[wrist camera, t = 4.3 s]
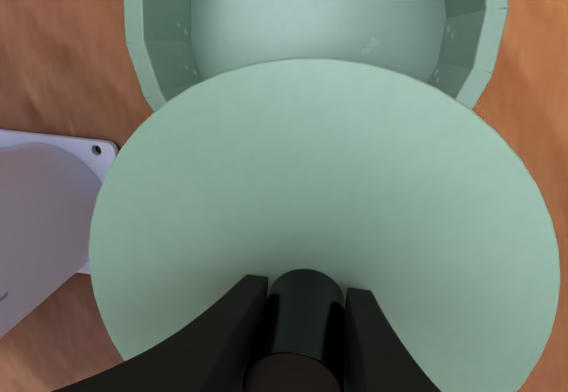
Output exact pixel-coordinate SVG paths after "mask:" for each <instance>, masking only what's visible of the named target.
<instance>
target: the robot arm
mask: <svg viewBox="0 0 568 392" xmlns="http://www.w3.org/2000/svg"><path fill="white" fill-rule="evenodd" d="M96 146H99V147H100V149H101V154H100V153H98V152H97V151H96ZM117 155H118V148H117V146H116V144H115V143H113V142H112V141H109V140H100V139H90V138H81V137H72V136H62V135H53V134H44V133H34V132H25V131H15V130H6V129H0V338H2V337H3V336H4V335H5V334H6V333H7V332H8V331H10V330H11V329H12V328H13V327H14V326H15V325H16V324H18V323H19V322H20V321H21V320H22V319H23V318H24V317H26V316H27V315H28V314H29V313H30V312H31V311H32V310H34V309H35V308H36V307H37V306H38V305H39V304H40V303H42V302H43V301H44V300H45V299H46V298H47V297H49V296H50V295H51V294H52V293H53V292H54V291H55V290H57V289H58V288H59V287H60V286H61V285H62V284H63V283H65V282H66V281H67V280H68V279H69V278H70V277H71V276H73V275H74V274H75V273H76V272H77V273H85V274H90V265H89V238H90V227H91V220H92V216H93V212H94V207H95V203H96V199H97V196H98V193H99V191H100V188H101V186H102V183H103V181H104V179H105V176H106V174H107V171H108V169H109V168H110V166H111V164H112V163H113V161H114V159H115V158H116V156H117ZM267 293H268V277H265V276H257V275H249V274H247V275H245V276H244V277H243V278H242V279H241V280H240V281H239V282H237V283H236V284H235V285H234V286H233V287H232V288H231V289H230V290H229V291H228V292H227V293H225V294H224V295H223V296H222V297H221V298H220V299H219V300H218V301H216V302H215V303H214V304H213V305H212V306H210V307H209V308H208V309H207V310H206V311H204V312H203V313H202V314H201V315H199V316H198V317H197V318H195V319H194V320H193V321H191V322H190V323H189V324H187V325H186V326H185V327H183V328H182V329H181V330H179V331H178V332H176V333H175V334H173V335H172V336H170V337H169V338H167V339H165V340H164V341H162V342H160V343H159V344H157V345H155V346H154V347H152V348H150V349H148V350H147V351H145V352H143V353H141V354H139V355H137V356H135V357H133V358H131V359H129V360H127V361H125V362H123V363H121V364H119V365H117V366H115V367H113V368H110V369H108V370H106V371H104V372H101V373H99V374H97V375H94V376H92V377H89V378H87V379H84V380H82V381H79V382H77V383H74V384H71V385H69V386H66V387H63V388H61V389H58V390H54V391H51V392H243V388H242V381H243V376H244V373H245V369H246V366H247V363H248V360H249V356H250V353H251V350H252V347H253V343H254V340H255V337H256V334H257V330H258V327H259V324H260V321H261V318H262V314H263V311H264V308H265V305H266V301H267ZM344 392H441V391H440V390H439V388H438V387H437V386H436V385H435V384H434V383H433V382H432V381H431V380H430V379H429V377H428V376H427V375H426V374H425V372H424V371H423V370H422V369H421V368H420V366H419V365H418V364H417V362H416V361H415V360H414V358H413V357H412V356H411V354H410V353H409V352H408V350H407V349H406V347H405V346H404V345H403V343H402V342H401V340H400V339H399V337H398V336H397V334H396V333H395V331H394V330H393V328H392V327H391V325H390V323H389V322H388V320H387V318H386V317H385V315H384V313H383V311H382V310H381V308H380V306H379V304H378V302H377V300H376V298H375V296H374V294H373V293H372V292H371V291H370V290H365V289H357V288H349V287H348V288H347V296H346V303H345V310H344Z"/></svg>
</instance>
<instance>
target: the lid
mask: <svg viewBox="0 0 568 392" xmlns="http://www.w3.org/2000/svg"><path fill="white" fill-rule="evenodd" d="M89 265H90V275H91V281H92V286H93V291H94V297H95V300H96V303H97V306H98V309H99V312H100V315H101V318H102V321H103V323H104V325H105V327H106V329H107V331H108V333H109V335H110V338H111V340H112V342H113V343H114V345H115V347H116V348H117V350H118V351H119V353H120V355H121V356H122V358H123V360H124V361H127V360H129V359H131V358H133V357H135V356H137V355H139V354H141V353H143V352H145V351H147V350H148V349H150V348H152V347H154V346H155V345H157V344H159V343H160V342H162V341H164V340H165V339H167V338H169V337H170V336H172V335H173V334H175V333H176V332H178V331H179V330H181V329H182V328H183V327H185V326H186V325H187V324H189V323H190V322H191V321H193V320H194V319H195V318H197V317H198V316H199V315H201V314H202V313H203V312H204V311H206V310H207V309H208V308H209V307H210V306H212V305H213V304H214V303H215V302H216V301H218V300H219V299H220V298H221V297H222V296H223V295H224V294H225V293H227V292H228V291H229V290H230V289H231V288H232V287H233V286H234V285H235V284H236V283H237V282H239V281H240V280H241V279H242V278H243V277H244V276H245V275H247V274H249V275H257V276H265V277H268V293H267V301H266V305H265V308H264V311H263V314H262V318H261V321H260V324H259V327H258V330H257V334H256V337H255V340H254V343H253V347H252V350H251V353H250V356H249V360H248V363H247V366H246V369H245V373H244V376H243V381H242V388H243V392H344V310H345V303H346V296H347V288H348V287H349V288H357V289H365V290H370V291H371V292H372V293H373V294H374V296H375V298H376V300H377V302H378V304H379V306H380V308H381V310H382V311H383V313H384V315H385V317H386V318H387V320H388V322H389V323H390V325H391V327H392V328H393V330H394V331H395V333H396V334H397V336H398V337H399V339H400V340H401V342H402V343H403V345H404V346H405V347H406V349H407V350H408V352H409V353H410V354H411V356H412V357H413V358H414V360H415V361H416V362H417V364H418V365H419V366H420V368H421V369H422V370H423V371H424V372H425V374H426V375H427V376H428V377H429V379H430V380H431V381H432V382H433V383H434V384H435V385H436V386H437V387H438V388H439V390H440V391H441V392H516V391H517V390H518V389H519V388H520V387H521V386H522V384H523V383H524V382H525V381H526V379H527V378H528V376H529V374H530V373H531V371H532V370H533V368H534V367H535V365H536V363H537V362H538V360H539V359H540V356H541V354H542V352H543V350H544V347H545V345H546V343H547V340H548V338H549V336H550V334H551V330H552V326H553V322H554V318H555V315H556V311H557V307H558V298H559V287H560V265H559V250H558V244H557V240H556V236H555V231H554V227H553V223H552V219H551V216H550V213H549V211H548V209H547V206H546V204H545V201H544V199H543V197H542V194H541V192H540V190H539V187H538V186H537V184H536V182H535V181H534V179H533V178H532V176H531V174H530V173H529V171H528V170H527V168H526V166H525V165H524V163H523V162H522V160H521V158H520V157H519V156H518V155H517V154H516V153H515V152H514V150H513V149H512V148H511V147H510V146H509V145H508V143H507V142H506V141H505V140H504V139H503V138H502V137H501V135H500V134H499V133H498V132H497V131H496V130H495V129H493V128H492V127H491V126H490V125H489V124H488V123H486V122H485V121H484V120H483V119H482V118H480V117H479V116H478V115H477V114H476V113H475V112H473V111H472V110H471V109H470V108H468V107H467V106H465V105H464V104H462V103H460V102H459V101H457V100H456V99H454V98H452V97H451V96H449V95H448V94H446V93H444V92H443V91H441V90H440V89H438V88H436V87H434V86H431V85H429V84H427V83H425V82H422V81H420V80H418V79H416V78H413V77H411V76H409V75H407V74H404V73H402V72H399V71H395V70H392V69H388V68H385V67H381V66H378V65H374V64H371V63H367V62H361V61H354V60H347V59H340V58H332V57H292V58H284V59H277V60H270V61H263V62H257V63H253V64H250V65H246V66H243V67H239V68H236V69H232V70H229V71H225V72H222V73H220V74H218V75H215V76H213V77H211V78H209V79H207V80H204V81H202V82H200V83H198V84H195V85H193V86H191V87H190V88H188V89H187V90H185V91H183V92H182V93H180V94H179V95H177V96H176V97H174V98H172V99H171V100H169V101H168V102H166V103H165V104H164V105H162V106H161V107H160V108H159V109H158V110H157V111H155V112H154V113H153V114H152V115H151V116H150V117H149V118H147V119H146V120H145V121H144V122H143V123H142V124H141V125H140V126H139V127H138V128H137V130H136V131H135V132H134V133H133V134H132V136H131V137H130V138H129V139H128V140H127V142H126V143H125V144H124V145H123V146H122V148H121V150H120V151H119V153H118V155H117V156H116V158H115V159H114V161H113V163H112V164H111V166H110V168H109V169H108V171H107V174H106V176H105V179H104V181H103V183H102V186H101V188H100V191H99V193H98V196H97V199H96V203H95V207H94V212H93V216H92V220H91V227H90V238H89Z"/></svg>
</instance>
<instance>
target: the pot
mask: <svg viewBox="0 0 568 392" xmlns="http://www.w3.org/2000/svg"><path fill="white" fill-rule="evenodd" d="M123 4H124V22H125V41H126V42H127V43H126V45H127V48H128V51H129V54H130V57H131V60H132V63H133V66H134V69H135V72H136V75H137V78H138V81H139V84H140V87H141V90H142V93H143V95H144V98H146V101H147V103H148V104H149V106H150V107H151V109H152V110H153V112H155V111H157V110H158V109H159V108H160V107H161V106H162V105H164V104H165V103H166V102H168V101H169V100H171V99H172V98H174V97H176V96H177V95H179V94H180V93H182V92H183V91H185V90H187V89H188V88H190V87H191V86H193V85H195V84H198V83H200V82H202V81H204V80H207V79H209V78H211V77H213V76H215V75H218V74H220V73H222V72H225V71H229V70H232V69H236V68H239V67H243V66H246V65H250V64H253V63H257V62H263V61H270V60H277V59H284V58H292V57H332V58H340V59H347V60H354V61H361V62H367V63H371V64H374V65H378V66H381V67H385V68H388V69H392V70H395V71H399V72H402V73H404V74H407V75H409V76H411V77H413V78H416V79H418V80H420V81H422V82H425V83H427V84H429V85H431V86H434V87H436V88H438V89H440V90H441V91H443V92H444V93H446V94H448V95H449V96H451V97H452V98H454V99H456V100H457V101H459V102H460V103H462V104H464V105H465V106H467V107H468V108H470V109H471V110H472V109H473V108H474V106H475V104H476V102H477V101H478V99H479V97H480V96H481V94H482V92H483V90H484V89H485V87H486V85H487V84H488V82H489V80H490V78H491V77H492V73H493V71H494V67H495V63H496V59H497V55H498V50H499V46H500V42H501V38H502V34H503V30H504V26H505V22H506V18H507V14H508V8H507V7H508V5H509V4H508V0H123Z"/></svg>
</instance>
